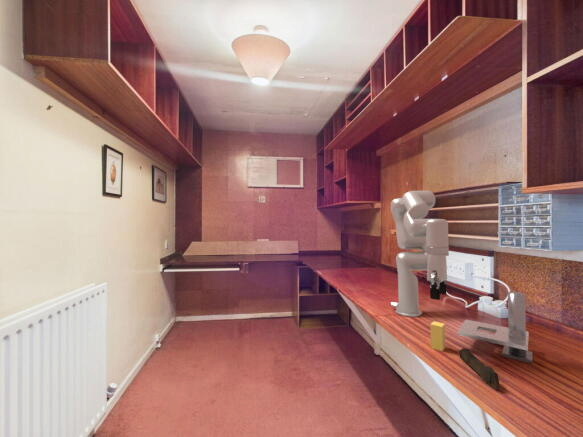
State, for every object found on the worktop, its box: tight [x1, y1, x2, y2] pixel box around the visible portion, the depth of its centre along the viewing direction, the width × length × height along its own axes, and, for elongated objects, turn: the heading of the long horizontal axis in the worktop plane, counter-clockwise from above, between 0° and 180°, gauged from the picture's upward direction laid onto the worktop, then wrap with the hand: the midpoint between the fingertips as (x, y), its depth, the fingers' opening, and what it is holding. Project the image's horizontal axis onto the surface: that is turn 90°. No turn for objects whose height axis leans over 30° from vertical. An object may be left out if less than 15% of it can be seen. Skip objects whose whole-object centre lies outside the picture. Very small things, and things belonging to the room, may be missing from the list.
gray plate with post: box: [457, 291, 533, 364], centre depth 104 cm, size 21×16×22 cm
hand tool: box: [458, 347, 500, 391], centre depth 89 cm, size 19×4×4 cm, turn 171°
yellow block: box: [429, 320, 446, 352], centre depth 106 cm, size 4×4×9 cm
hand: (438, 296), depth 107 cm, fingers open, 9 cm apart
